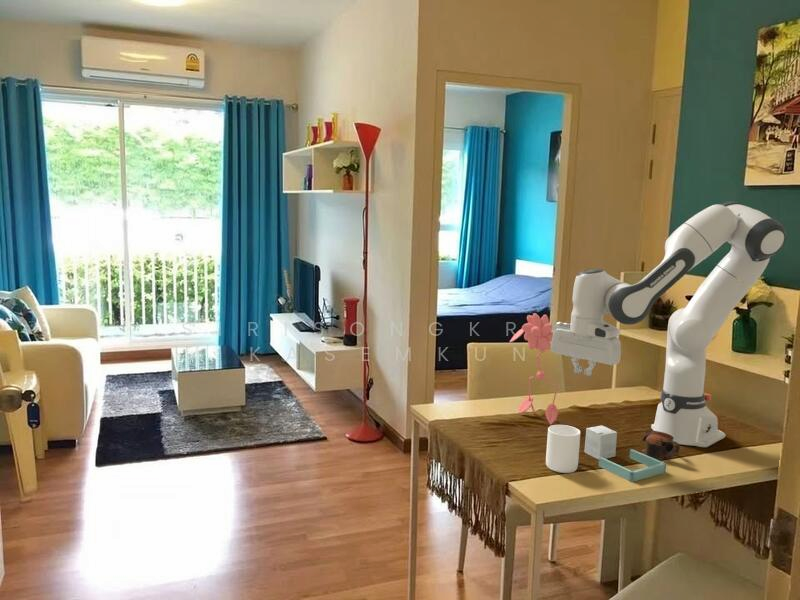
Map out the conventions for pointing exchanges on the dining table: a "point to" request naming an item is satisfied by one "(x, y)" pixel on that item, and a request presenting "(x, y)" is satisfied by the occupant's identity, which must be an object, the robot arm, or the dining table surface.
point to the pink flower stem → (540, 339)
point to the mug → (562, 448)
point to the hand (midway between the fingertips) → (582, 373)
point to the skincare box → (600, 442)
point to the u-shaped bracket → (652, 470)
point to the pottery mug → (660, 445)
